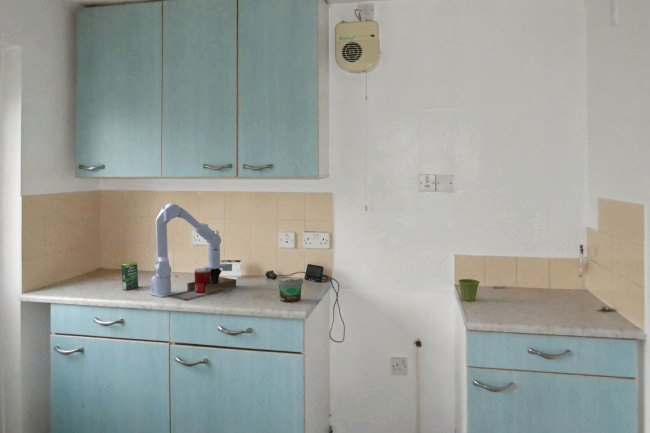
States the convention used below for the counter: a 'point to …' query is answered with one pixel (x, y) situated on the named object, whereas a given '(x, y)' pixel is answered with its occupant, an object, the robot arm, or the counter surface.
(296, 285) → the food container
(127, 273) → the coffee box
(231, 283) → the wooden tray
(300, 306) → the counter surface
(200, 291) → the canned food
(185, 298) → the frame
